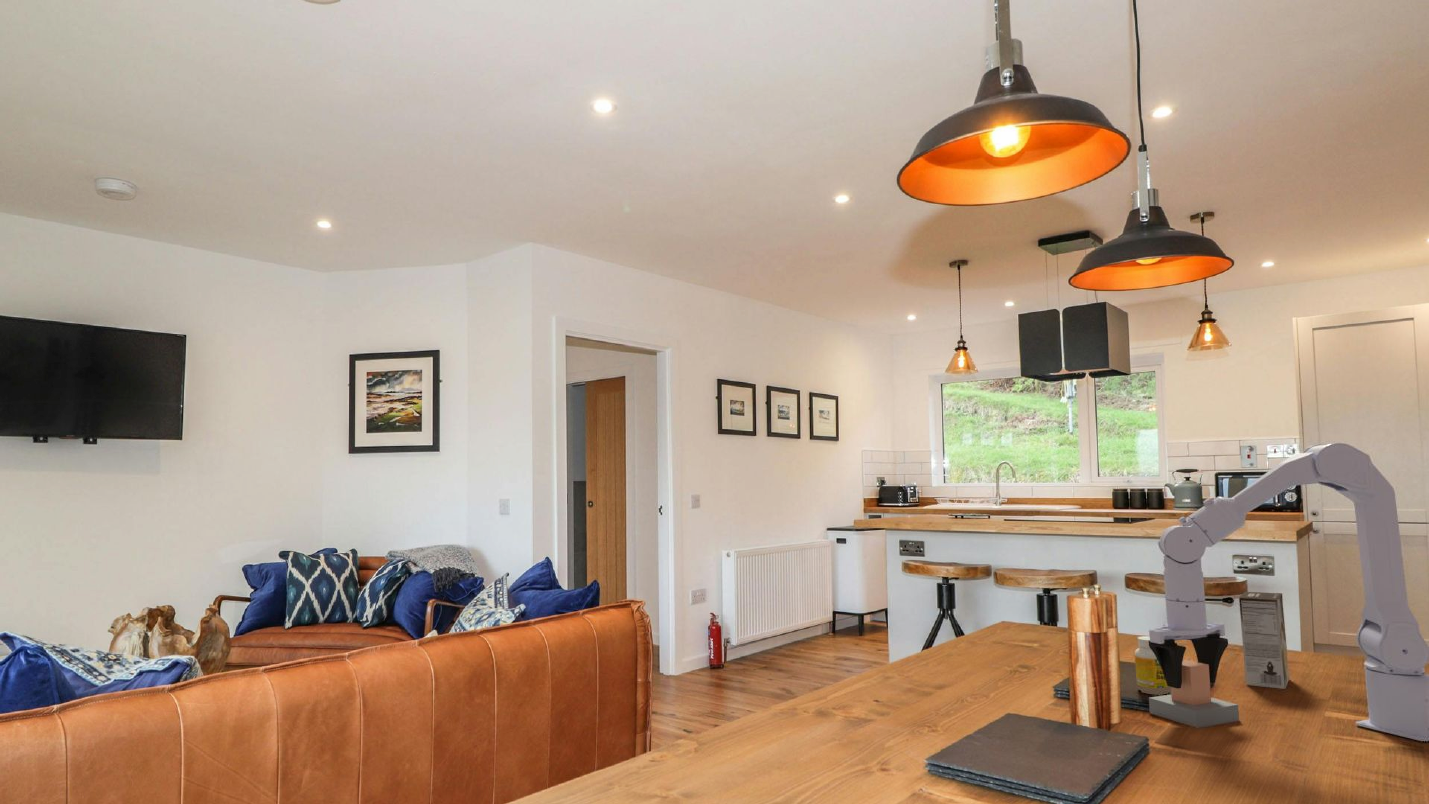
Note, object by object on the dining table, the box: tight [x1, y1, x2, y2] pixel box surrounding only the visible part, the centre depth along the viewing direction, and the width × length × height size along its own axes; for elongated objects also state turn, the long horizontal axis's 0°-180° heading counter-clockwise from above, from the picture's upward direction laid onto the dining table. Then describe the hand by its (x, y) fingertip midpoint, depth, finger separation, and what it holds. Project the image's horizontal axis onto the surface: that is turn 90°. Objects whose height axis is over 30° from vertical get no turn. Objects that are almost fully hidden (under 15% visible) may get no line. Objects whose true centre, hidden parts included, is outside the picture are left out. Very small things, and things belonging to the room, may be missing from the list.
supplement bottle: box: [1134, 635, 1169, 688], centre depth 154 cm, size 5×5×10 cm
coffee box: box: [1238, 591, 1290, 690], centre depth 159 cm, size 9×6×16 cm
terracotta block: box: [1170, 659, 1212, 705], centre depth 138 cm, size 4×4×6 cm
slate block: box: [1148, 693, 1240, 729], centre depth 138 cm, size 9×9×3 cm
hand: (1191, 684), depth 138 cm, fingers open, 7 cm apart
